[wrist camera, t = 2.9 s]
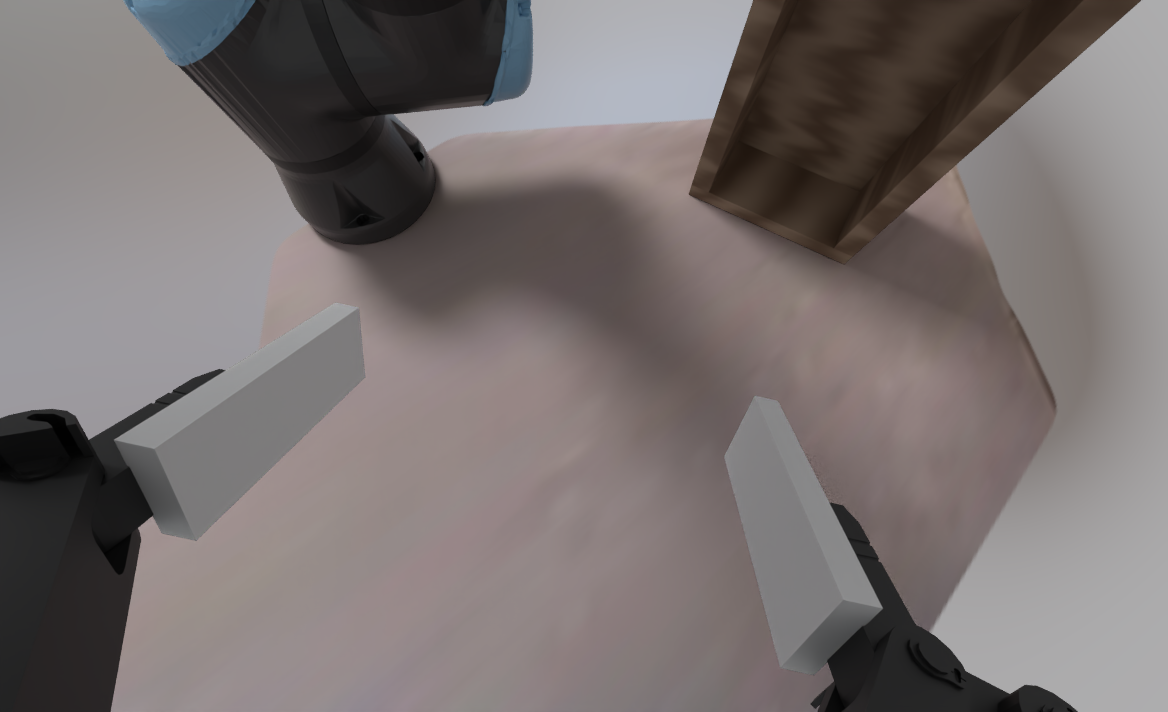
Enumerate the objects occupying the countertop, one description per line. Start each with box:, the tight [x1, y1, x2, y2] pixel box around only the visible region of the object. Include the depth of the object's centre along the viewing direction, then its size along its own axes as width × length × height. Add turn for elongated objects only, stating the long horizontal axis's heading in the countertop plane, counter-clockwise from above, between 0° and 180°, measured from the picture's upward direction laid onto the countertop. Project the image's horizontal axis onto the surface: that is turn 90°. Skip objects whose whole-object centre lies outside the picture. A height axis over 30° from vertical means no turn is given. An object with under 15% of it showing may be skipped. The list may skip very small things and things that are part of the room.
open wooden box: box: [689, 0, 1141, 264], centre depth 33 cm, size 18×10×28 cm, turn 60°
